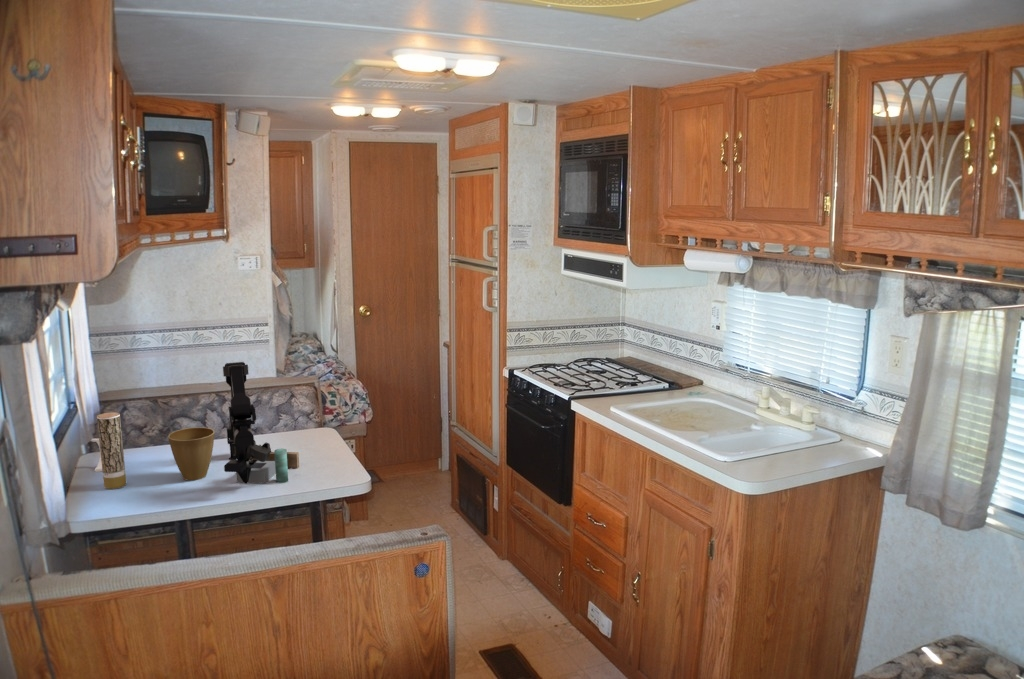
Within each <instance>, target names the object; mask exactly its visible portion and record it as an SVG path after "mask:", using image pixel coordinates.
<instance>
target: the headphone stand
mask: <svg viewBox="0 0 1024 679" xmlns="http://www.w3.org/2000/svg"><path fill="white" fill-rule="evenodd" d="M90 441H91V442H93V443H95V442H96V443H97V445H98V448H99V460H98V463H97V466H96V467H95V469H94V472H95V473H96V472H97V473H99V472H103V471H102V461H101V451H100V442H99V438H91V440H90Z"/></svg>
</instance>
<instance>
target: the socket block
mask: <svg viewBox="0 0 1024 679" xmlns="http://www.w3.org/2000/svg"><path fill="white" fill-rule="evenodd" d="M235 474H236V483H239V484H245V483H244V482H243V481H242V479H241V478H240V476H239V474H238V473H237V472H235ZM274 476H276V470H275V461H265V462H261V461H257V462H256V463H255V464H254V465H253V466H252V468H251V472H250V477H249V481H248V483H247V484H267V482H268V481H270V480H271V479H272V478H273V477H274Z"/></svg>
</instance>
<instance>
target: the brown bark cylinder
mask: <svg viewBox="0 0 1024 679" xmlns="http://www.w3.org/2000/svg"><path fill="white" fill-rule="evenodd" d="M120 414H121V413H120V412H115V411H114V412H105V413H100V414H98V415H96V419H97V420H96V421H97V433H98V439H99V442H100V449H99V452H100V451H101V461H102V471H101V472H102V478H103V486H104V488H105V489H107V490H116V489H120V488H123V487H125V486H126V484H127V476H126V464H125V453H124V444H123V443H124V442H123V433H122V424H121V423H122V422H121V415H120Z"/></svg>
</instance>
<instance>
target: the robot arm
mask: <svg viewBox="0 0 1024 679" xmlns="http://www.w3.org/2000/svg"><path fill="white" fill-rule="evenodd" d="M222 374H223V375H222V376H223V377H224V378H225V383H226V384H227V385H228V387H230V399H229V400H230V401H229V402H230V406H228V414H229V416H228V417H229V420H228V423H227V425H228V427H226V440H227V445H229V453H230V456H229V457H228V460H229V461H228V462H226V463H225V464H224V466H223V468H224V472H225V473H236V472H237V473H238V474H239V476H240V478H241V479H242V481H243V482H244V483H243V484H249V483H248V481H249V477H250V472H251V468H252V466H253V465H254V464H255V463H256V462H257V460H259V461H261V462H265V460H267V459H268V457H269V454H270V453H271V452H272V450H271V449H272V448H271V444H270V443H269V442H264V443H263V444H257V442H256V440H255V436H254V433H253V429H252V425H255V424H256V423H255V422H256V421H257V415H256V413H257V412H256V407H255V406H254V404H252V403H251V402H252V401H251V398H250V397H249V395H248V396H247V393H246V386H245V383H246V382H247V375H249V365H248V364H246V363H245V362H244V361H238V362H236V361H235V362H226V363H225V364H224V366H222ZM253 458H254V459H257V460H253Z"/></svg>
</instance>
